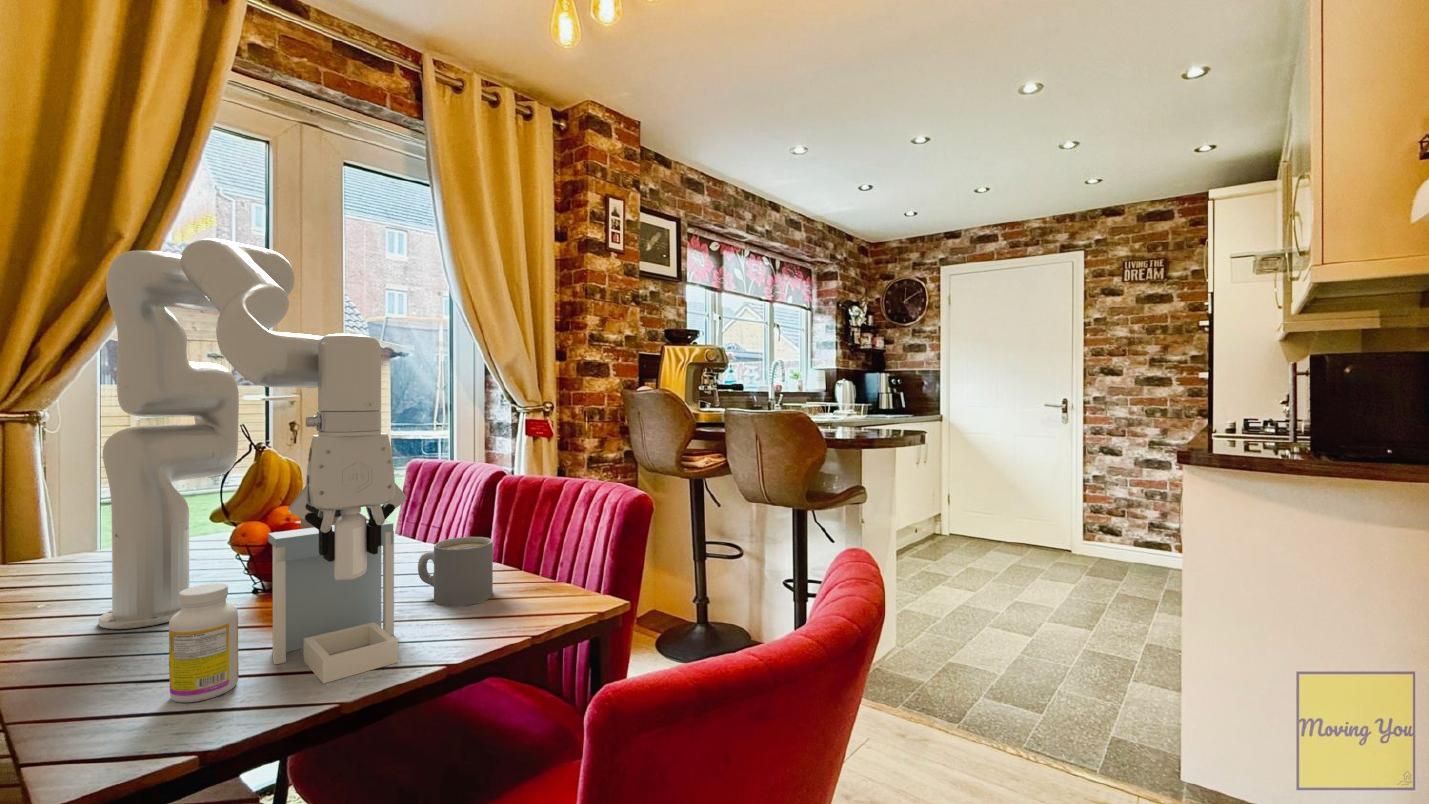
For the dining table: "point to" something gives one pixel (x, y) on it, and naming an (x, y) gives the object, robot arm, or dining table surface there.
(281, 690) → the dining table surface
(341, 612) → the roller blind
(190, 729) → the dining table surface
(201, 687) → the supplement bottle
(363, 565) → the eye dropper bottle
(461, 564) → the coffee mug
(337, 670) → the socket
